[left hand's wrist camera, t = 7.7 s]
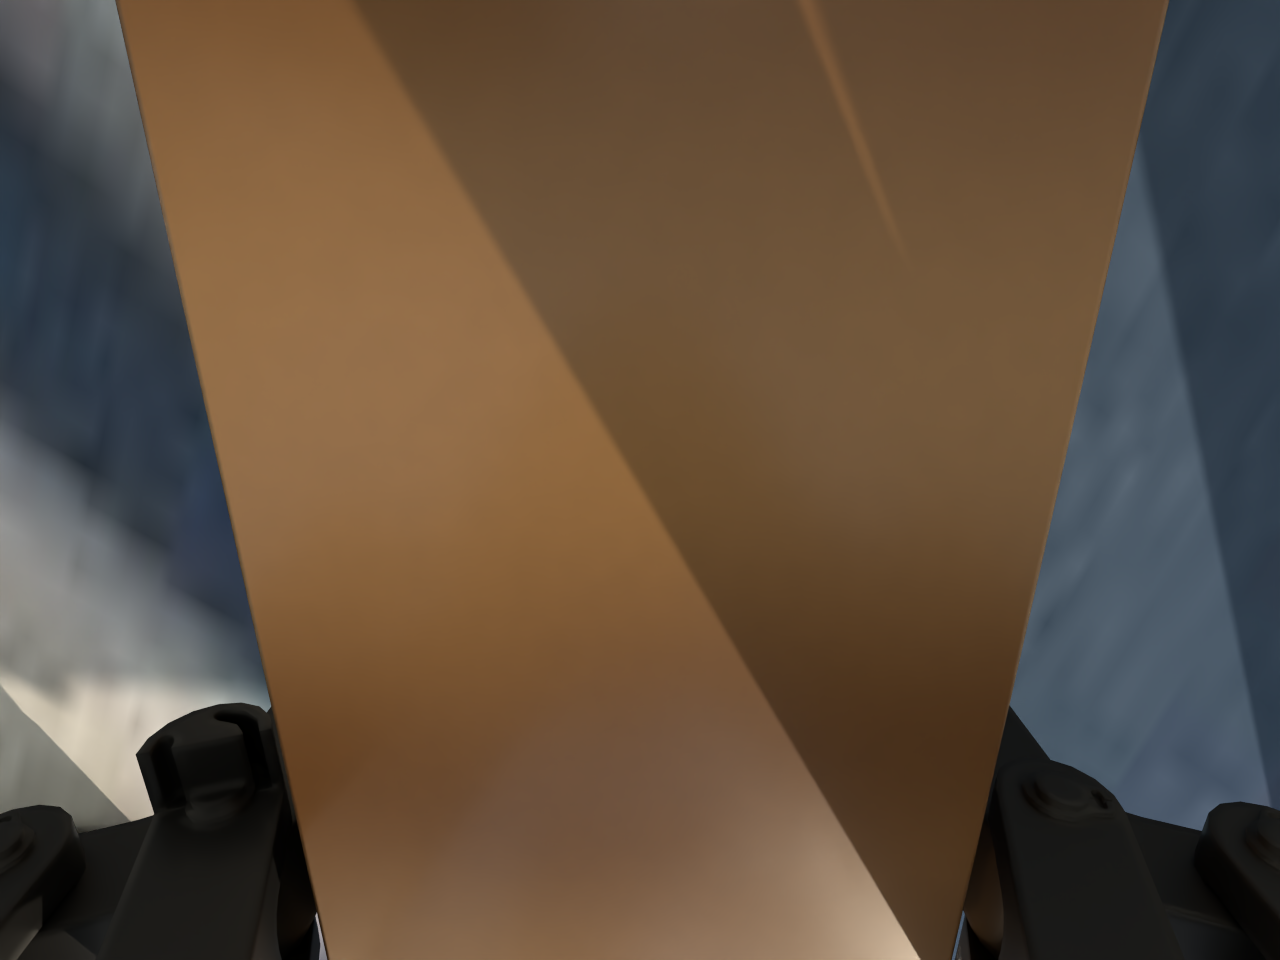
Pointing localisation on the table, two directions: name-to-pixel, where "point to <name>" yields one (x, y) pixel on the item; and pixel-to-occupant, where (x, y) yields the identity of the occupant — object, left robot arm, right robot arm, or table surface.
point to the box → (641, 438)
